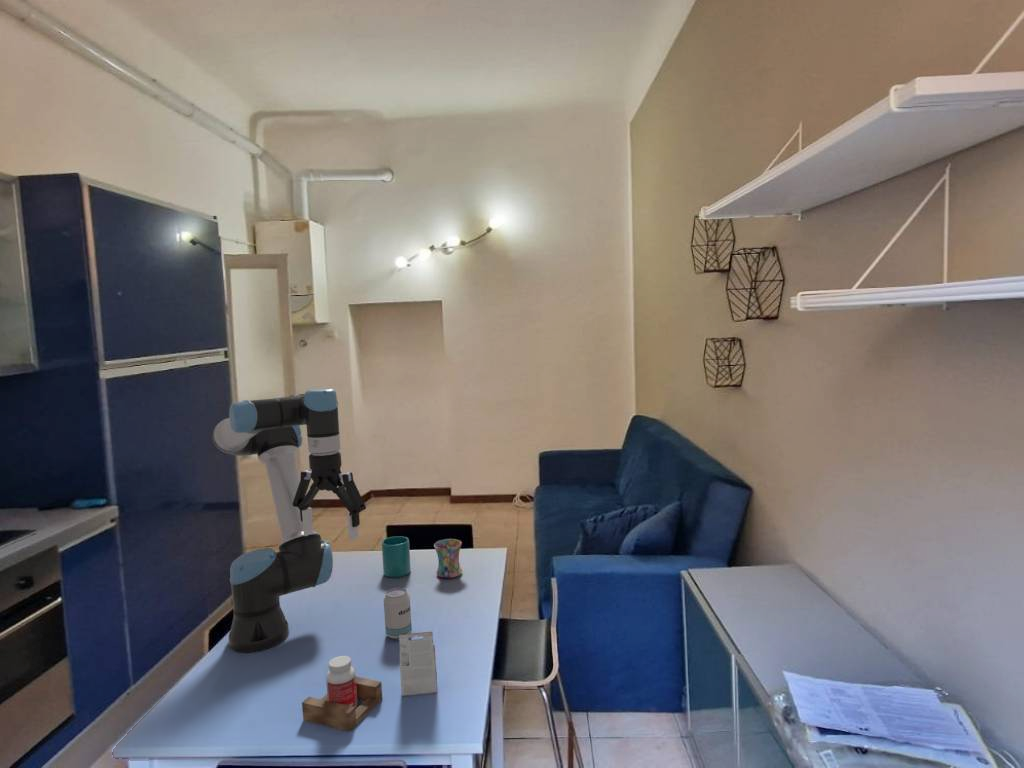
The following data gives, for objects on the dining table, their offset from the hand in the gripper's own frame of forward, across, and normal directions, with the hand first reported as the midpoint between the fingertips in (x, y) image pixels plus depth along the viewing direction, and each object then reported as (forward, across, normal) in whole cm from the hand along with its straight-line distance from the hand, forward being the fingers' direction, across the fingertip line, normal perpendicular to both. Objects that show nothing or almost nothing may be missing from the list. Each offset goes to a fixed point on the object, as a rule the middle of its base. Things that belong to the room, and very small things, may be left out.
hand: (330, 536), depth 154 cm
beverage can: (+32, +8, +15) cm, 36 cm away
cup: (+32, -16, +53) cm, 64 cm away
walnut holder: (+32, +14, -17) cm, 39 cm away
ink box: (+32, +26, -6) cm, 42 cm away
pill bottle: (+32, +14, -17) cm, 39 cm away
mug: (+32, +3, +54) cm, 63 cm away
